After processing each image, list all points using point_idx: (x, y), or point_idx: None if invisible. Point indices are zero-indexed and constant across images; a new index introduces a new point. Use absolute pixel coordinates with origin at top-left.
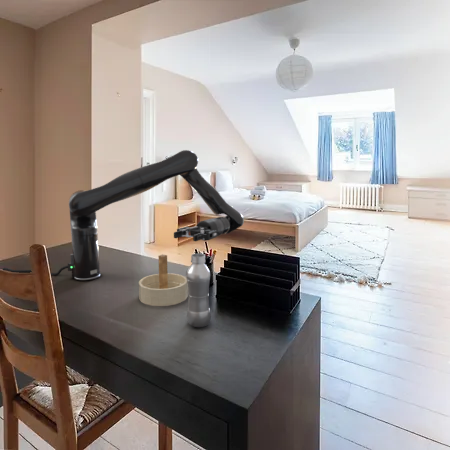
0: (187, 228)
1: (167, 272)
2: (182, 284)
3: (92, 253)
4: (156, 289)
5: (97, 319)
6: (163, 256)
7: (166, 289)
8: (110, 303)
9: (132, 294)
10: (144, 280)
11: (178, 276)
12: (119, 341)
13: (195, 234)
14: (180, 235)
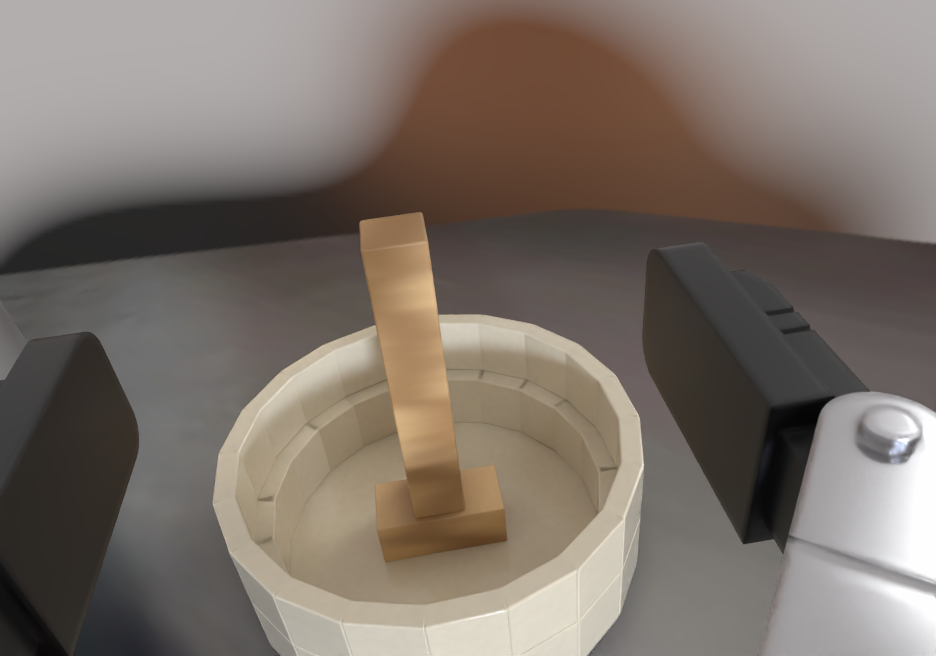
0: (788, 559)
1: (390, 398)
2: (227, 480)
3: None
4: (339, 338)
5: (494, 259)
6: (360, 223)
7: (281, 371)
8: (622, 329)
9: (675, 443)
10: (594, 391)
11: (432, 612)
12: (278, 253)
13: (55, 373)
14: (721, 463)
